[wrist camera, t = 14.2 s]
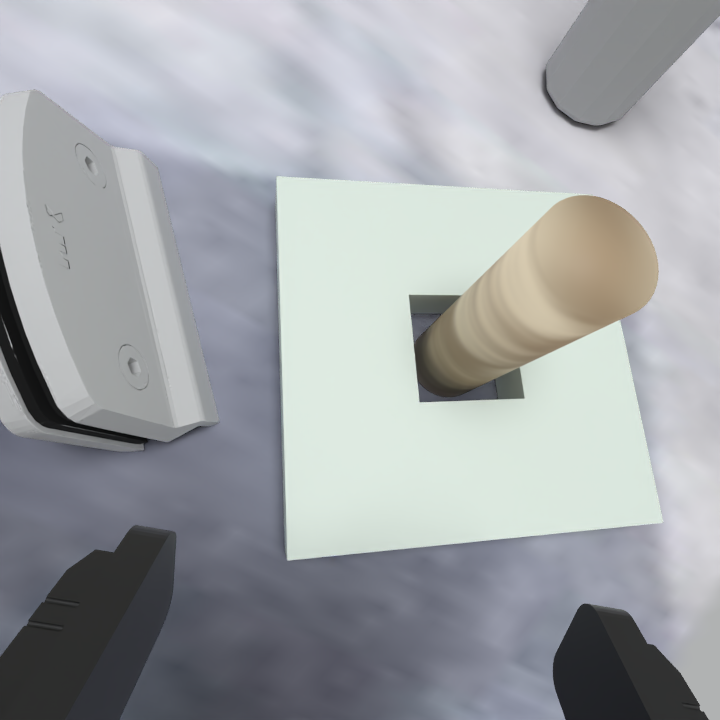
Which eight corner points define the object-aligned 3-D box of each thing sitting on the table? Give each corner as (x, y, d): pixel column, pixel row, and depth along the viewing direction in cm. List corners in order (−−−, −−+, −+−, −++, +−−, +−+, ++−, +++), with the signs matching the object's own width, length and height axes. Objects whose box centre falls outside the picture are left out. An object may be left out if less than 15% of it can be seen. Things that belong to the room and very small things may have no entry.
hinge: (221, 429, 25) (92, 424, 16) (141, 455, 26) (-34, 467, 16) (156, 161, 29) (15, 19, 19) (85, 188, 29) (-88, 63, 19)
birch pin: (414, 398, 28) (549, 317, 15) (407, 327, 29) (528, 191, 16) (484, 395, 29) (671, 317, 16) (475, 326, 30) (642, 198, 17)
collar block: (284, 552, 24) (287, 560, 22) (275, 206, 29) (276, 176, 27) (623, 519, 28) (663, 522, 26) (565, 219, 33) (593, 194, 31)
